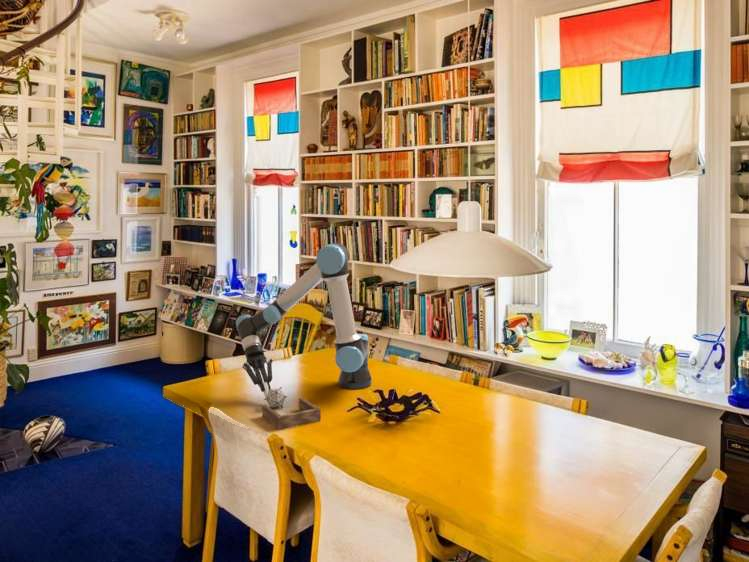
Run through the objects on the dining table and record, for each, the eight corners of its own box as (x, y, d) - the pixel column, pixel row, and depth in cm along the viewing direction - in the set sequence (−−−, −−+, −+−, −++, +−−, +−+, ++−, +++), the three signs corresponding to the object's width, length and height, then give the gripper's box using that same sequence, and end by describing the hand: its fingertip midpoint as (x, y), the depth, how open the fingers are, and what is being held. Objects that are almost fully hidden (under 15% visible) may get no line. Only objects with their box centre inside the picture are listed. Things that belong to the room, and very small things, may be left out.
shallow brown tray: (302, 408, 236) (302, 397, 235) (320, 420, 223) (320, 409, 223) (262, 416, 227) (262, 405, 226) (278, 429, 214) (278, 417, 213)
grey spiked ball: (278, 418, 236) (281, 403, 229) (259, 409, 237) (261, 394, 230) (289, 401, 242) (291, 386, 236) (270, 392, 244) (272, 378, 237)
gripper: (264, 351, 258) (280, 399, 246) (235, 355, 251) (250, 404, 239) (269, 341, 253) (286, 390, 241) (240, 345, 246) (255, 396, 234)
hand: (268, 397), depth 240 cm, fingers closed
